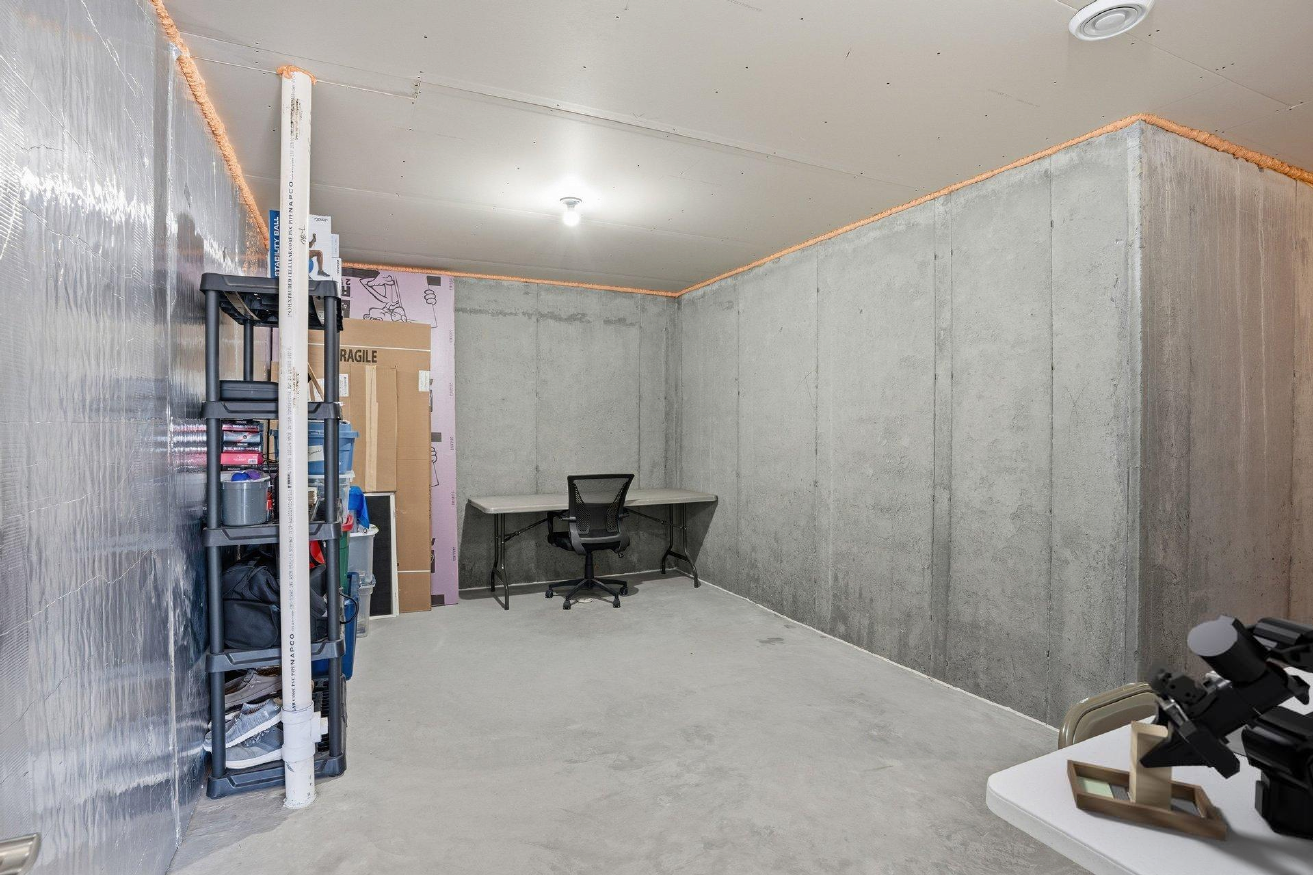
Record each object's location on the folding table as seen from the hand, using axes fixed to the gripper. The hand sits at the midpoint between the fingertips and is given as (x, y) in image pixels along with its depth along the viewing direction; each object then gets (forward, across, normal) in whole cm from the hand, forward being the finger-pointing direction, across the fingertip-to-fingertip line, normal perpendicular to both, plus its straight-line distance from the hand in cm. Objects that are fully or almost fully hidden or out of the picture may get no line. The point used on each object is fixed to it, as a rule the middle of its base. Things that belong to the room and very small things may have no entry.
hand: (1138, 757), depth 94 cm
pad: (+8, 0, +1) cm, 8 cm away
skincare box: (-8, -27, +18) cm, 33 cm away
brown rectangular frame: (+4, 0, +5) cm, 7 cm away
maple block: (+4, 0, +6) cm, 7 cm away
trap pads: (+3, 0, +6) cm, 7 cm away
